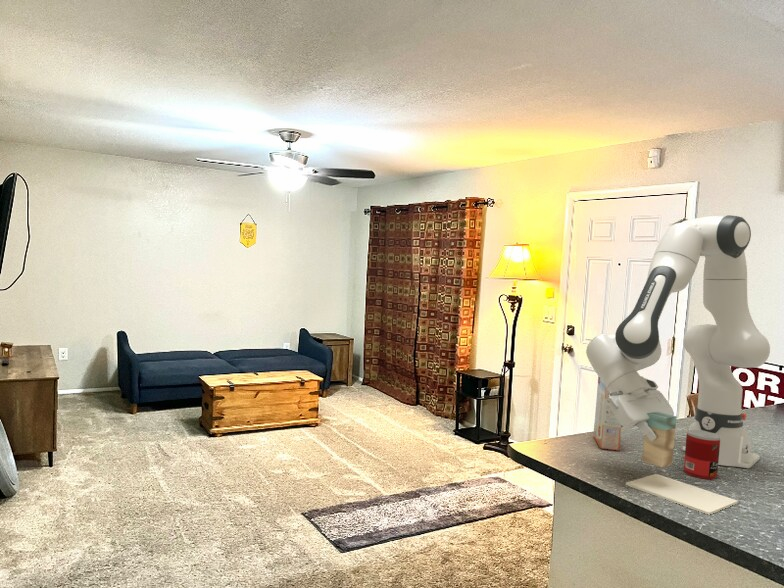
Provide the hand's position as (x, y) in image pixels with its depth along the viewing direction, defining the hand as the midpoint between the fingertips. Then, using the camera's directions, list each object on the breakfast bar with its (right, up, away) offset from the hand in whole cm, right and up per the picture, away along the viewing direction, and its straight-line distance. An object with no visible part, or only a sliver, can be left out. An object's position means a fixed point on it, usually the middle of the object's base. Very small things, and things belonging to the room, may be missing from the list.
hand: (661, 437), depth 143 cm
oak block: (-1, -6, +1) cm, 6 cm away
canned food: (+16, -13, +12) cm, 24 cm away
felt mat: (+3, -13, -4) cm, 13 cm away
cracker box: (-1, -11, +36) cm, 38 cm away
